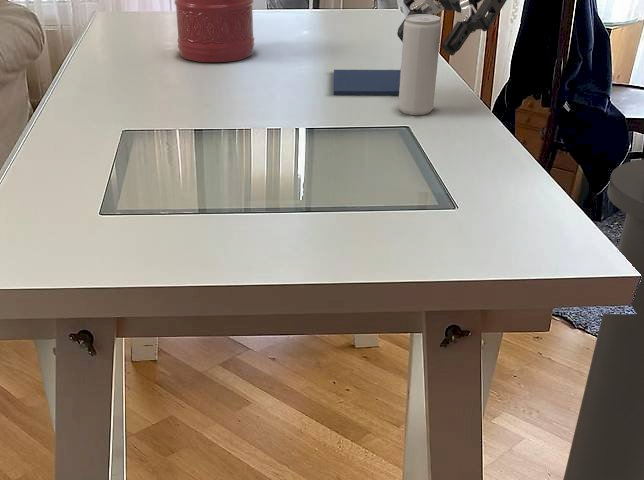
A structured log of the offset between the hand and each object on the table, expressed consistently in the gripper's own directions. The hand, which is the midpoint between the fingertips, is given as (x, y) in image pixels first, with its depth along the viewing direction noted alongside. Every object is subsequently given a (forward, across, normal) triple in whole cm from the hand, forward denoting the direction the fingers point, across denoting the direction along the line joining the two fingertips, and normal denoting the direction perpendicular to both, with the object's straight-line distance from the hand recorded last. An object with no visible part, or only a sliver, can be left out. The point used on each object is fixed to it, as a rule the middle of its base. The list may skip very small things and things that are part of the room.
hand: (423, 45), depth 112 cm
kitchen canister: (+10, -44, +2) cm, 45 cm away
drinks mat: (+4, -13, +8) cm, 16 cm away
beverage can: (+7, +1, +5) cm, 9 cm away
